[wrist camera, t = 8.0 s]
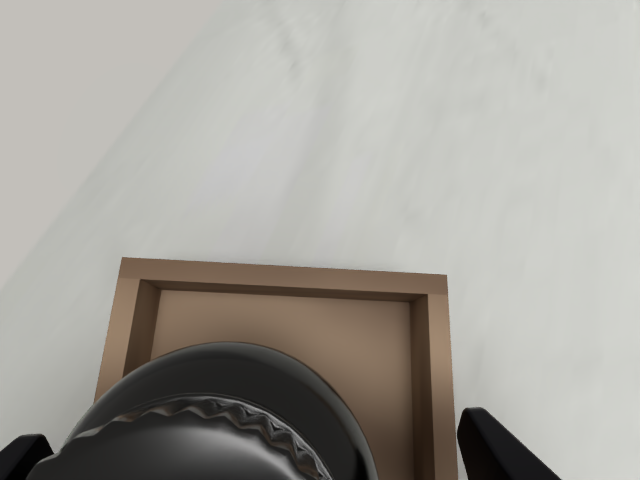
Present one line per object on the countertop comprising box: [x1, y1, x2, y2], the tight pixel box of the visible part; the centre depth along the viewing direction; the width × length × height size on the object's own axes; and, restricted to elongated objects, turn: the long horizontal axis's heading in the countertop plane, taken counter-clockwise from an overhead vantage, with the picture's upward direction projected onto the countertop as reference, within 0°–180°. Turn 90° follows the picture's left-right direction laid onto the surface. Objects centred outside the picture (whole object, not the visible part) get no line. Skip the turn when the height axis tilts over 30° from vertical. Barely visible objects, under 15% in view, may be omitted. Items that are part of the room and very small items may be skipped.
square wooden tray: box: [94, 257, 458, 480], centre depth 16 cm, size 13×13×6 cm
